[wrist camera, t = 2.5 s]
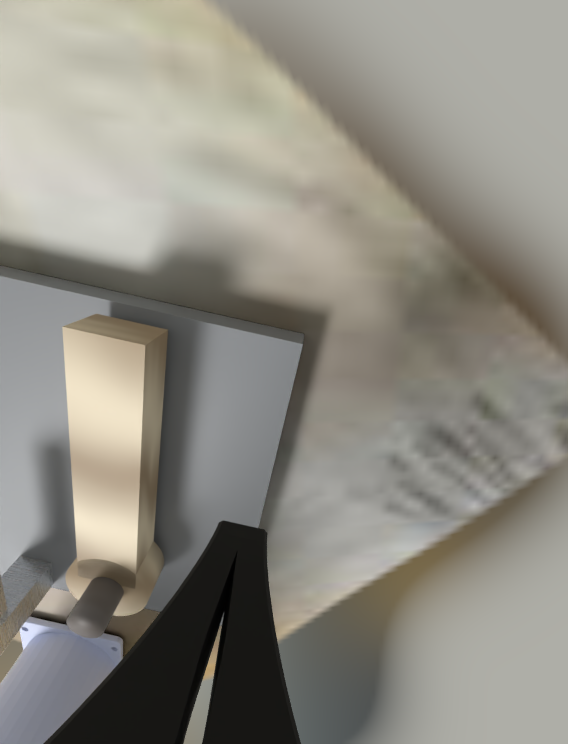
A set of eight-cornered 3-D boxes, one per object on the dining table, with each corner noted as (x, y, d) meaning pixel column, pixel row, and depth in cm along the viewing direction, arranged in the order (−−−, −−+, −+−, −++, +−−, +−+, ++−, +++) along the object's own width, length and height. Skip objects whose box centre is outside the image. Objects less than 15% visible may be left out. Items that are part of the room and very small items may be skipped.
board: (238, 604, 23) (234, 628, 22) (-43, 541, 23) (-66, 561, 22) (304, 334, 15) (303, 344, 14) (-125, 237, 15) (-168, 238, 14)
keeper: (53, 583, 22) (-3, 659, 18) (23, 576, 22) (-40, 651, 18) (42, 483, 18) (-30, 550, 15) (7, 474, 18) (-76, 540, 14)
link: (163, 584, 20) (129, 662, 17) (92, 568, 20) (43, 642, 17) (186, 332, 14) (140, 369, 10) (82, 308, 14) (-2, 337, 10)
